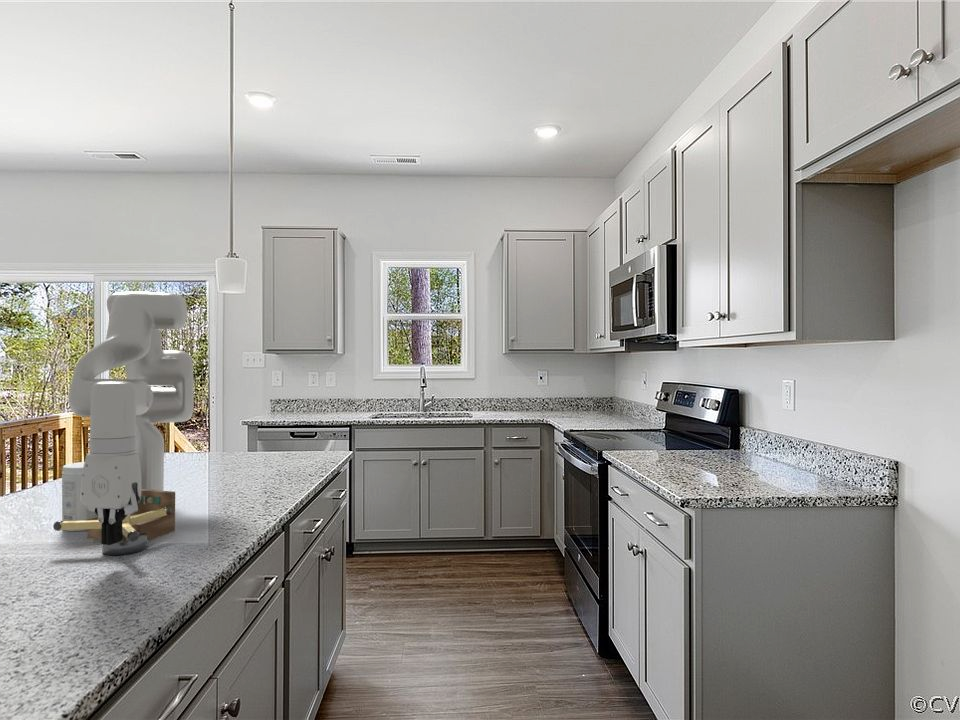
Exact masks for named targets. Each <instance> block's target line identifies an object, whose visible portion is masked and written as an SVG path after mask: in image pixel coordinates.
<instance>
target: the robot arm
mask: <svg viewBox="0 0 960 720" xmlns="http://www.w3.org/2000/svg"><path fill="white" fill-rule="evenodd" d="M107 297H108V298H107V300H106V308H107V312H108V314H109V320H108V325H107V330H106V337H105V340H103V341H102V342H100V343H98V344H97V345H95V346H94V347H92V348H91V349H90V350H88V351H87V352H86V353H84V355H83V356H82V357H81V358H80V359H79V360H78V361H77V363H76V365H75V367H74V369H73V374H72V378H71V381H70V382H71V383H70V385H69V386H70V388H69V393H68V404H69V408H70V410H71V411H72V412H73V414H75V415H77V416H79V417H85V418H86V417H87V418H90V419H89V420H90V422H89V425H90V426H89V427H90V428H89V440H88V443H87V444H88V446H89V453H86V455H85V459H84V461H83V462H84V467H83V473H82V482H81V503H82V505H84V506H86V507H87V509H88V510H90V511H92V512H95V513H96V514H97V516H98V520H99V522H100V523H102V532H101V539H100V540H101V541H100V543H101V545H102V544H103V545H112V544H115V543H117V542H120V541H122V521H124V520H125V519H126V516H127V515H128V514H132V513H136V512H138V506H137V504H138V503H139V502H140V499H141V489H146V490H159V491H165V490H164V485H165V483H164V478H165V474H164V473H165V438H164V436H163V434H162V433H161V431H160V430H159V429H158V428H157V427H156V426H155V425H154V424H160V423H166V424H167V423H184V422H187V421H189V420H190V419H191V418H192V416H193V414H194V409H195V405H194V404H195V395H194V394H195V393H194V391H195V390H194V385H195V384H194V381H195V380H194V364H193V359H192V356H191V355H190V354H189V353H188V352H186V351H183V350H177V349H176V350H173V349H172V350H170V349H169V350H168V349H167V350H166V349H163V348H162V332H161V330H180V329H182V328H183V327H184V325H185V324H186V323H187V319H188V305H187V301H186V300H185V298H184V297H183V295H180V294H175V293H170V292H155V291H154V292H153V291H125V292H124V291H119V292H114V293H112V294H110V295H109V296H107ZM123 366H124V367H125V368H124V369H125V377H126V378H125V379H124V378H96V377H97V376H100V375H101V374H102V373H104V372H107V371H110V370H113V369H117V368H120V367H123ZM164 386H165V387H164ZM117 511H118V512H117Z"/></svg>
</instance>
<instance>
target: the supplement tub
mask: <svg viewBox="0 0 960 720" xmlns="http://www.w3.org/2000/svg"><path fill="white" fill-rule="evenodd" d="M84 462H85V461H81V462H80V461H79V462H74V463H68V464H64V465H63V466H62V471H61V505H62V506H61V511H62V512H61V514H62V515H61V521H87V520H88V519H92V518H95V517H98V516H97V514H96V513H95V512H92V511H90V510H88V509H87V507H86V506H84V505H82V503H81V482H82V473H83V467H84ZM66 531H68V532H87V531H88V529H76V530H66Z"/></svg>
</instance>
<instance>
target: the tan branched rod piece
mask: <svg viewBox="0 0 960 720" xmlns="http://www.w3.org/2000/svg"><path fill="white" fill-rule="evenodd" d="M170 513H171V508H170V507H168V506H166V507H164V508H161V509H157V510H153V511H150V512H146V513H142V514H138V515H135V516H131V517H130V514H128V515H127V516H126V519H125V520H124V521H122V541H120V542H117V543H115V544H112V545H103V544H101V545H102V547H101V550H102V551H101V552H102V554H105V555H107V556H108V555H109V556H119V555H129V554H133V553H137V552H141V551H143V550H145V549H147V547H148V541H147V533H146V532H141V531H136V530H135V529H134V528H133V527H132V526H131V525H134V524H137V523H141V522H144V521H148V520H151V519H155V518H158V517H162V516H167V515H169V514H170ZM52 526H53V527H52V528H53V530H55V531H57V532H61V531H67V530H76V529H102V523H100V522H99V520H87V521H62V520H57V521H55V522H54V523H53V525H52Z"/></svg>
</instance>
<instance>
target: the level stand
mask: <svg viewBox="0 0 960 720" xmlns="http://www.w3.org/2000/svg"><path fill="white" fill-rule="evenodd" d="M137 506H138V512H136V513H132V514H130V517H131V516H135V515H138V514H142V513H146V512H150V511H153V510H157V509H161V508H164V507H166V506H168V507H170V508H171V513H170V514H169V515H167V516H162V517H158V518H155V519H151V520H148V521H144V522H141V523H137V524H134V525H131V526H132V527H133V528H134V529H135V530H136V531H141V532H146V533H147V542H148V541H150V540H154V539H157V538H159V537H162V536H165V535H168V534H171V533H173V531H174V532H175V531H176V491H170V490H169V491H168V490H164V491H159V490H146V489H141V499H140V502H139V503H138V504H137ZM118 511H119V510H117V512H118ZM88 520H98V517H95V518H92V519H88ZM101 532H102V529H88V531H86V533H87V534H86V535H87V539H94V540H95V539H96V540H101ZM170 532H171V533H170Z"/></svg>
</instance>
